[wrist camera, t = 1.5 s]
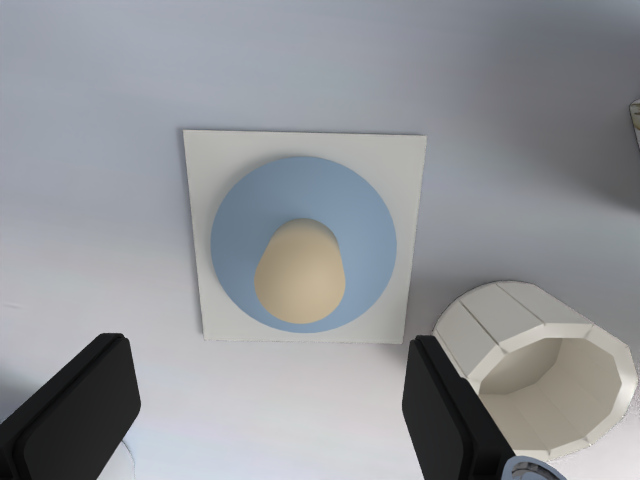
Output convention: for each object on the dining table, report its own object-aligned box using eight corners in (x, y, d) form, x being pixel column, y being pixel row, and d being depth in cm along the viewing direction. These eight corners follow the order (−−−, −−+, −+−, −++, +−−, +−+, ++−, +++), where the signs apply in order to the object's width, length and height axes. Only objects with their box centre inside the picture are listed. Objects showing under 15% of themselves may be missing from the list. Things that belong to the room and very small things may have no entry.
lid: (402, 158, 21) (433, 164, 15) (385, 327, 25) (405, 382, 19) (207, 154, 21) (165, 158, 15) (221, 324, 25) (192, 379, 19)
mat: (424, 135, 21) (427, 135, 20) (400, 339, 26) (402, 344, 25) (186, 130, 21) (182, 129, 20) (206, 335, 26) (204, 340, 25)
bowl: (580, 282, 24) (661, 325, 19) (546, 395, 28) (606, 462, 22) (439, 279, 24) (477, 321, 18) (422, 393, 27) (449, 459, 22)
